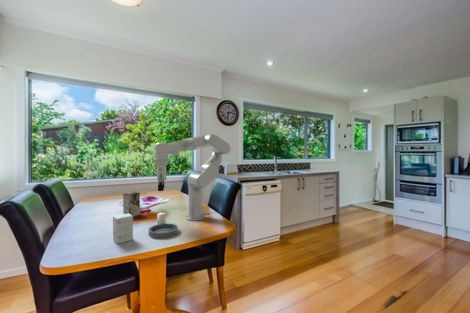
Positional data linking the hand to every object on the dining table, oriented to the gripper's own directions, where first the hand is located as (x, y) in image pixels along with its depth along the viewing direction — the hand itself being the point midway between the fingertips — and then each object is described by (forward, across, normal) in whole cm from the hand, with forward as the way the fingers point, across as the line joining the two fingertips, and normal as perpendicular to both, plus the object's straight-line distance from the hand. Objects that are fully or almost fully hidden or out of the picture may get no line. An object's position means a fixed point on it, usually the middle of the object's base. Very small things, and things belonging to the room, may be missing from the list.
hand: (161, 189), depth 143 cm
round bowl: (+22, -15, -2) cm, 27 cm away
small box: (+23, -21, +18) cm, 36 cm away
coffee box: (+23, +25, +22) cm, 40 cm away
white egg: (+22, 0, 0) cm, 23 cm away
